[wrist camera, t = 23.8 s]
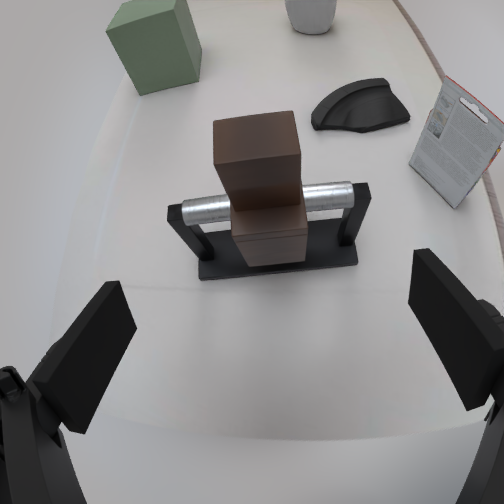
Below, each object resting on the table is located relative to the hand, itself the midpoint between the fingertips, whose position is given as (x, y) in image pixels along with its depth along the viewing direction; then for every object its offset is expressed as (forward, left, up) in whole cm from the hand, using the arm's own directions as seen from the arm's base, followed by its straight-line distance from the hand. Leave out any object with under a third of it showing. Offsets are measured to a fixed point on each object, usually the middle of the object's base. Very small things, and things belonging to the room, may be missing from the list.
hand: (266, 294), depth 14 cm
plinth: (-10, +44, -18) cm, 48 cm away
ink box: (+22, +14, -18) cm, 31 cm away
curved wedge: (+16, +26, -18) cm, 36 cm away
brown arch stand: (+1, +9, -14) cm, 16 cm away
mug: (+16, +52, -18) cm, 57 cm away
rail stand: (+1, +9, -18) cm, 20 cm away
